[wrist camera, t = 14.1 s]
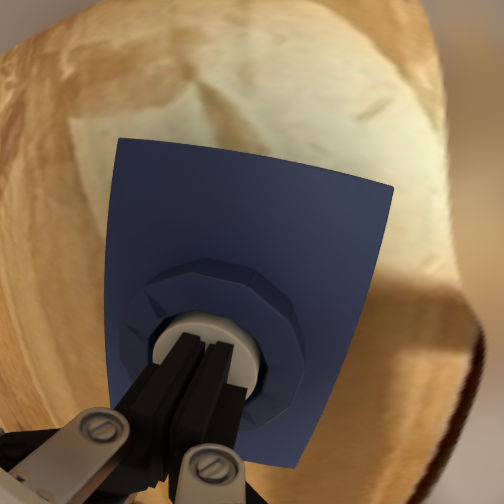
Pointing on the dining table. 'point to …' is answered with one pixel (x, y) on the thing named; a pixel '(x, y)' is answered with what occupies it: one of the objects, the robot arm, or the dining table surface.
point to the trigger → (210, 332)
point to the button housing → (242, 272)
